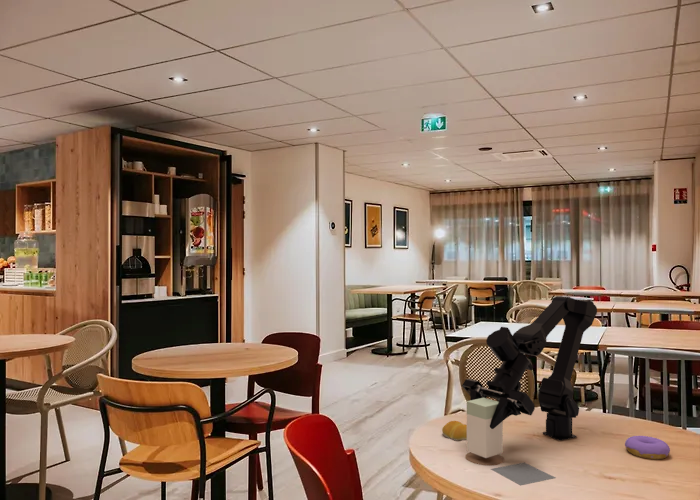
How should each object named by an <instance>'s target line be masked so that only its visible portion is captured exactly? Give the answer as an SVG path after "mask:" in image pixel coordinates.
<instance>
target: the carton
mask: <svg viewBox="0 0 700 500" xmlns="http://www.w3.org/2000/svg"><path fill="white" fill-rule="evenodd" d="M497 405H498V401H497V400H494V399H490V398H488V397H486V398H479V399H475V400H471V399H470V400H467V401H466V425H467V440H466V451H467V452H468V453H469V452H471V453H474V454H476V455H479V456H482V457H484V458H488V457H491V456H494V455H497V454H499V455H500V454H503V451H504V450H503V449H504V446H503V444H504V442H503V440H504V435H503V434H504V433H503V430H504V428H503V426H504V425H503V424H504V420H503V421H502V422H501V423H500V424H499V425H497V426H496V427H495V428H494V429H491V428H490V423H491V420H492V417H493V415H494V412H495V410H496V408H497Z"/></svg>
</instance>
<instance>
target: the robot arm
mask: <svg viewBox="0 0 700 500" xmlns="http://www.w3.org/2000/svg"><path fill="white" fill-rule="evenodd" d="M597 313H598V308H597V306H596V304H594V302H593V301H592V300H586V299H576V298H572V297H570V296H559V295H557V296H555V297H552V300H551V302H550V303H549V304H548V306H546V308H545V309H544V310H543V311H541V313H540V314H539V315H538V317H536V318H535V319H534V321H532V322H531V323H530V324H528V325H525V326H522V327H520V328H519V329H518V330H516V331H514V333H513V334H512V332H511V330H510V329H509V327H506V326H501V327H500V328H499V329H498V330H495V331H492V332H491V334H488V336H487V338H486V345H487V347H488V348H489V350H490V351H492V353H493V354H494V356H495V357H496V358H497V360H498V361H500V362H501V365H500V366H499V367H494V370H493V372H494V373H495V374H494V375H493V378H492V380H487V382H486V385H487V387H488V388H487V387H485V386H484V385H483V384H482V383H481V382H480V381H479V380H475V379H472V378H466V379H464V381H463V383H462V385H461V387H462V388H463V390H464V391H465V392H466V393H467V395H469V397H470V400H475V399H479V398H489V399H490V398H491V399H493V400H494V399H495V400H496V401H498V405H497V408H496V410H495V412H494V415H493V417H492V420H491V423H490V428H491V429H494V428H495V427H496V426H497V425H499V424H500V423H501V422H502V421H503V422H504V421H505V420H506V419H508V418H509V417H511V416H515V417H517V416H520V415H522V414H523V415H524V414H525V415H527V416H532V415H533V414H534V411H535V410H536V406H535V402H534V401H533V400H532V399H531V397H530V396H529V395H528V393H527V392H525V391H522V390H521V388H522V384H521V379H522V378H523V377H524V374H525V373H526V370H529V371H533V370H534V366H533V363H532V359H531V358H530V359H529V358H528V357H527V355H529V356H539V355H541V353H542V352H543V350H544V349H545V348H546V345H547V337H548V336H549V334H551V332H552V331H553V330H554V329H555V328H556V327H557V326H558V324H559V323H560V322H561V321H562V320H563V323H564V331H563V333H562V338H561V341H560V345H559V348H558V352H557V354H556V355H557V356H556V359H555V362H554V366H553V369H552V372H551V375H550V376H548V377H543V378H542V379H541V383H540V386H539V389H538V391H537V392H538V394H537V399H538V403H539V408H540V411H541V412H543V413H546V419H545V431H543V432H542V435H545V436H546V437H549V438H552V439H555V440H557V441H564V440H572V439H577V438H578V435H576V434H573V419H575V418H577V417H578V416H579V412H580V406H579V405H578V404H577V402H576V401H575V400H574V394H575V393H574V388H573V384H572V382H571V379H572V376H573V373H574V369H575V365H576V361H577V357H578V354H579V352H580V347H581V343H582V340H583V337H584V336H583V335H584V333H585V331H587V330H589V328H590V327H591V326H593V323H594V320H595V318H596V317H597V316H596V315H597ZM520 390H521V391H520Z"/></svg>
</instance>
